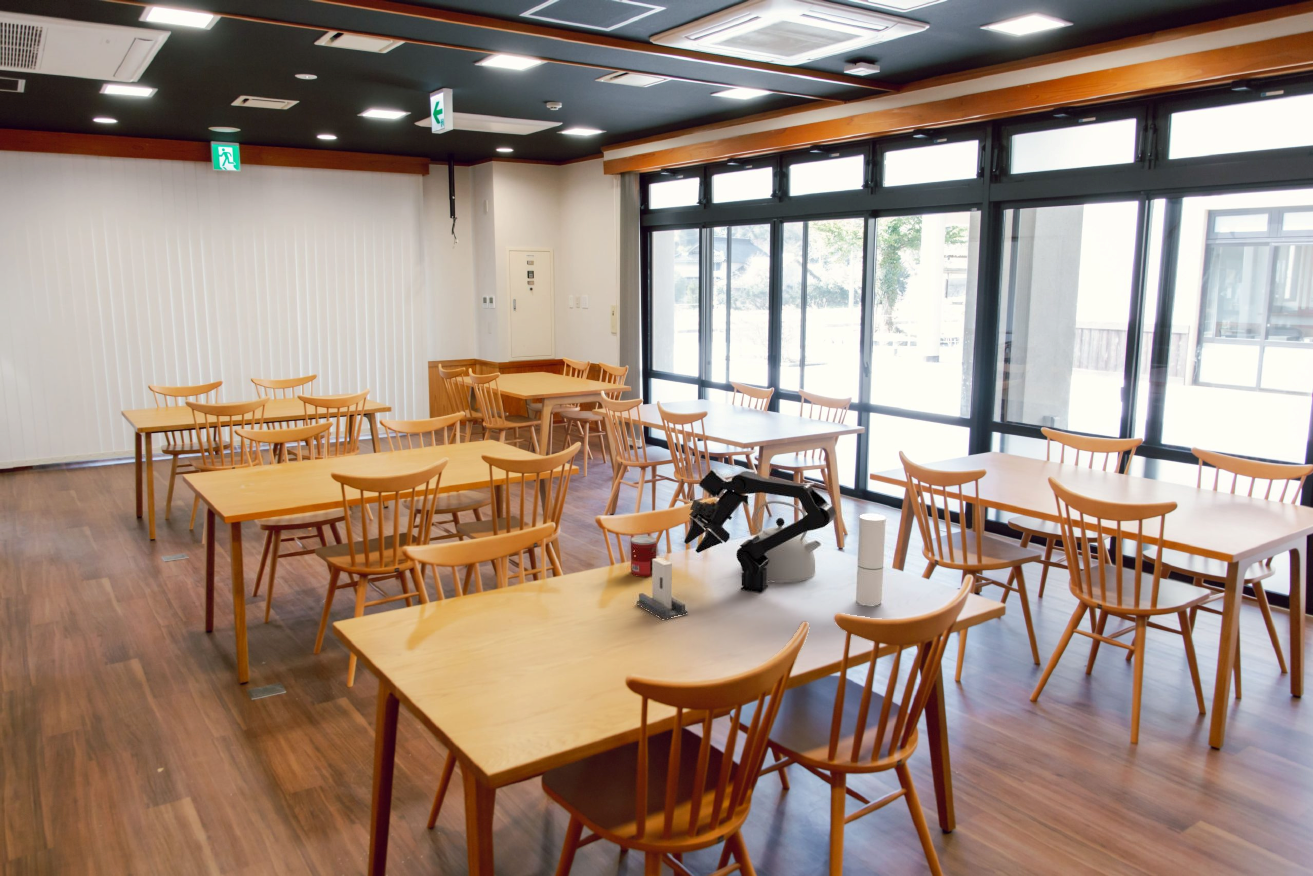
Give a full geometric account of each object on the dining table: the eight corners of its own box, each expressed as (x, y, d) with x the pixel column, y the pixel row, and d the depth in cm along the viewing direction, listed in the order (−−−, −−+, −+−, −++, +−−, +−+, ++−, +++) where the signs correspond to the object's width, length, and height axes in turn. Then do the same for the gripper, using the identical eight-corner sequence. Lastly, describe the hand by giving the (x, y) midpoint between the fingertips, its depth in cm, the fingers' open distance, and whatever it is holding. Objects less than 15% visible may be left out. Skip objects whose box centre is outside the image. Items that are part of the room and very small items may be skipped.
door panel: (659, 601, 253) (660, 557, 251) (671, 608, 248) (671, 563, 246) (651, 603, 252) (651, 559, 249) (662, 610, 247) (662, 565, 244)
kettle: (832, 568, 286) (835, 499, 282) (805, 589, 267) (808, 515, 263) (761, 555, 299) (762, 489, 295) (730, 574, 280) (731, 504, 276)
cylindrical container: (879, 597, 259) (883, 514, 255) (883, 606, 252) (887, 520, 248) (854, 596, 260) (858, 513, 256) (857, 605, 253) (861, 520, 249)
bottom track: (660, 599, 258) (660, 589, 257) (687, 614, 246) (687, 604, 246) (636, 604, 254) (636, 594, 253) (663, 620, 242) (663, 609, 242)
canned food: (656, 577, 277) (656, 542, 275) (630, 577, 277) (630, 542, 275) (656, 569, 284) (656, 535, 282) (631, 568, 284) (631, 535, 282)
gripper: (695, 483, 271) (661, 522, 270) (719, 497, 254) (683, 540, 253) (719, 505, 275) (686, 544, 274) (744, 521, 258) (709, 563, 257)
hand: (690, 547), depth 264 cm, fingers open, 9 cm apart
